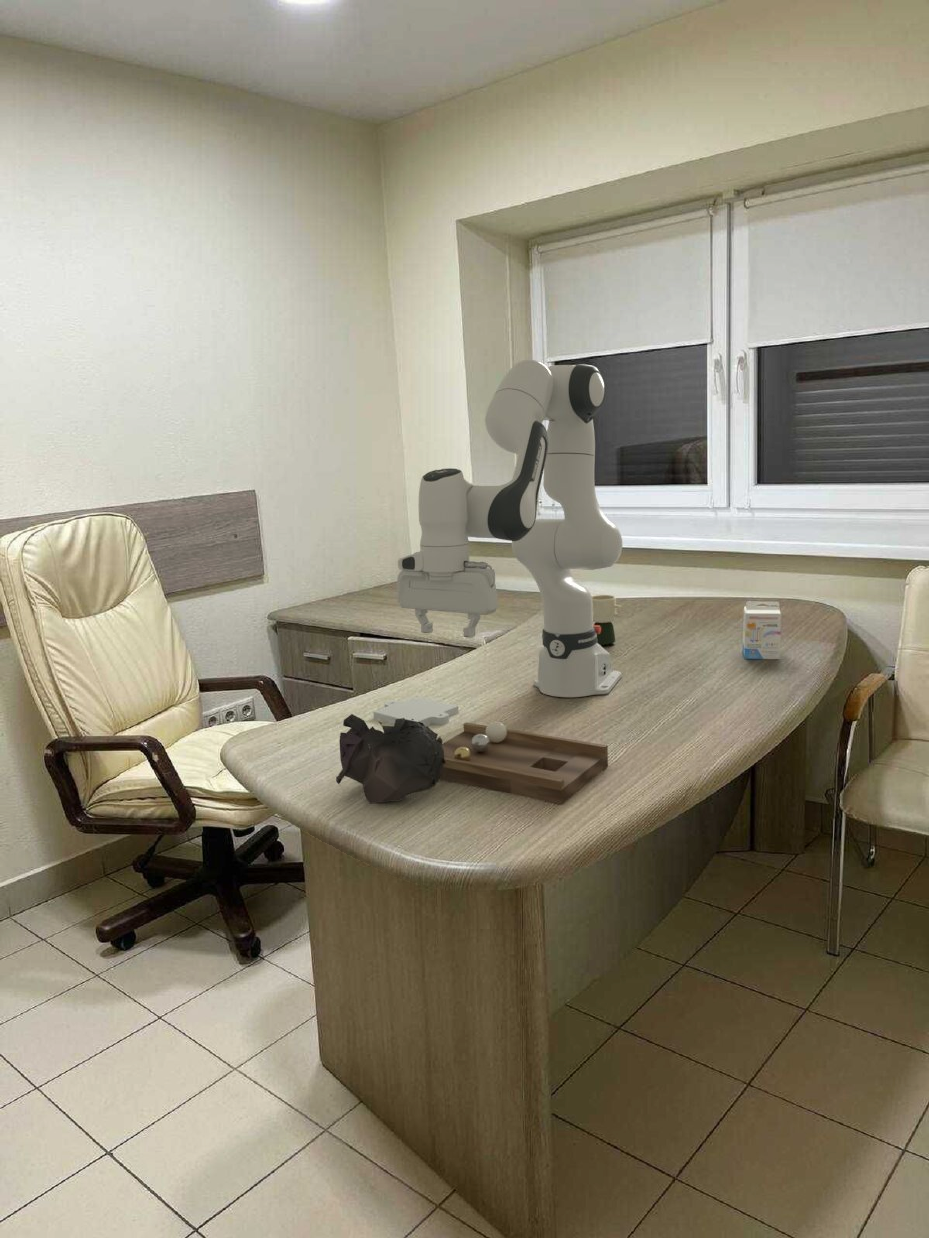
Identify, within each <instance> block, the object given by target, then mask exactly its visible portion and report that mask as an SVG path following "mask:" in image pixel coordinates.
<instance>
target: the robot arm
mask: <svg viewBox="0 0 929 1238" xmlns="http://www.w3.org/2000/svg"><path fill="white" fill-rule="evenodd" d="M605 394H606V385H605V380H604V377H603V375H602V373H601V372H600V370H599V369H598V367H596V366H594V365H589V364H585V363H578V364H557V365H556V364H555V365H554V364H553V365H550V366H547V365H545V364H544V363H542V362H540V361H538V360H534V359H524V360H521V361H518V362H517V363H515V364H514V365H513V366H512V367H511V368H510V369H509V370H508V372H507V373H506V374H505V376H504V378H503V379H502V380H501V382H500V384H499V385H498V387H497V388H496V390H495V392H494V394H493V396H492V399H491V400H490V403H489V405H488V407H487V409H486V414H485V418H484V422H485V427H486V430H487V434H488V435H489V437H490V438H491V439H492V440H493V441H494V443H495V444H496V445H497V446H498V447H500V448H501V449H503V450H505V451H506V452H509V453H513V454H516V455H518V456H517V459H516V464H515V467H514V472H513V475H512V478H511V480H510V481H508V482H506V483H503V484H500V485H474V483H470V482H469V481H468V480H466V479H465V477H464V474H463V472H462V470H460V469H458V468H441V469H433V470H431V471H428V472H426V473H425V474H424V475H423V476H422V477H421V479H420V483H419V491H418V522H419V525H420V528H421V538H420V541H419V547H420V549H419V551H417V552H414V553H412V554H408V555H406V556H403V557H401V558H399V559H398V560H397V567H398V569H399V570H400V571H399V573H398V574H397V577H396V578H397V581H396V597H397V603H398V605H399V606H400V607H401V608H402V609H414V615H415V616H416V617H415V618H416V619H417V620H418V622H419V624H420V632H421V633H422V634H430V633H433V631H434V628H433V627H434V624H433V622H430V621H429V618H428V617H427V615H426V614H428V611H435V612H448V613H458V614H459V613H460V614H467V620H470V621H469V623H468V624H467V626H466V627H463V628H462V630H463V637H464V638H470V639H473V638H474V637H476V627H477V625H478V623H479V622H480V620H481V615H484V616H486V615H490V614H493V613H495V612H496V611H497V609H498V608H499V601H498V591H497V587H496V571H495V569H494V568H493V566H491V565H490V564H489V563H488V562H486V561H480V562H477V561H471V560H470V541H469V538H479V539H498V540H503V541H504V540H505V541H508V542H509V541H510V542H511V548H512V549H511V550H512V553H513V555H514V557H515V558H516V560H517V561H518V562H519V563H520V564H522V566H524V567H525V568H526V569H527V570H528V572H529V573H530V574H531V575H532V577H533V580H534V581H535V583H536V585H537V588H538V590H539V593H540V598H541V603H542V604H541V605H542V614H543V628H542V633H541V640H542V646H543V648H542V649H540V650H539V652H538V662H537V663H538V664H537V665H538V666H537V678H535V679H534V680H533V685H534V686H535V687H537V688H538V690H539V691H540V692H541V693H542V694H545V695H547V696H550V697H551V696H552V697H557V698H558V697H560V698H580V697H587V696H595V695H607V694H609V693H610V692H611V691H612V689H613V688H614V687H615V686H616V684H617V683H618V682H619V680H620V679H621V678H622V672H621V671H619V670H615V669H612V659H611V654H610V653H609V652H608V651H607V650H606V648H604V647H602V645H599V644H598V643H597V642H598V640H597V634H600V633H601V627H600V625H597V626H595V625H594V622H593V605H592V596H593V595H591V593H590V591H589V589H587V588H586V587H585V586H583V585H582V584H580V583H579V582H578V581H577V580H576V579H575V578H574V576H573V575H572V572H571V570H586V571H587V570H589V571H592V570H593V571H594V570H600V569H606V568H610V567H612V566H614V565H615V563H617V562H618V560H619V558H620V556H621V554H622V551H623V538H622V534H621V532H620V530H619V528H617V526H616V525H615V524H614V523H613V522H611V521H610V520H609V518H607V516H606V515H605V514H604V512H603V511H602V508H601V506H600V505H599V502H598V498H597V494H596V487H595V485H596V484H595V465H596V464H595V460H596V459H595V458H596V454H595V453H596V439H595V438H596V437H595V436H596V435H595V428H594V427H595V426H594V418H595V415H597V414H598V413H599V411H600V409H601V407H602V405H603V403H604V400H605V396H606V395H605ZM543 421H548V425H547V429H546V427H545V425H544V424H543ZM542 479H543V484H542V485H543V490H544V492H545V493H546V495H547V496H548V497H549V498H550V499H552V500H553V501H555V502H557V503H559V504H560V505H561V508H562V510H563V516H564V518H537V512H538V511H537V510H538V508H537V507H538V504H537V503H538V496H539V491H540V488H541V487H540V486H541V483H542Z"/></svg>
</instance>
